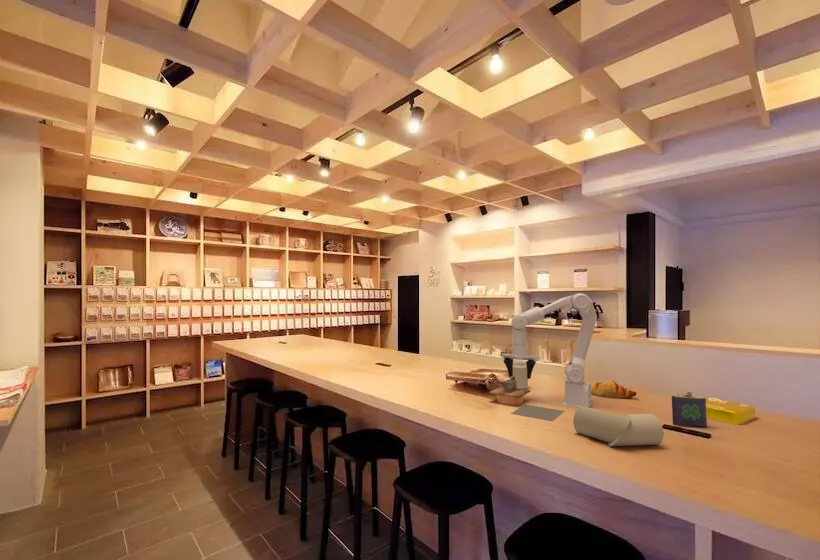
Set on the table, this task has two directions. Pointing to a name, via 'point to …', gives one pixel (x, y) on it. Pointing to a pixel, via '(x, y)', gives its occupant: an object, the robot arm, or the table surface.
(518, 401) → the bowl
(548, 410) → the mat
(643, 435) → the bent grey cylinder
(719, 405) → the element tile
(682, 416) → the flask
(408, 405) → the table surface
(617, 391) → the croissant
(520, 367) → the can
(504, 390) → the lid
